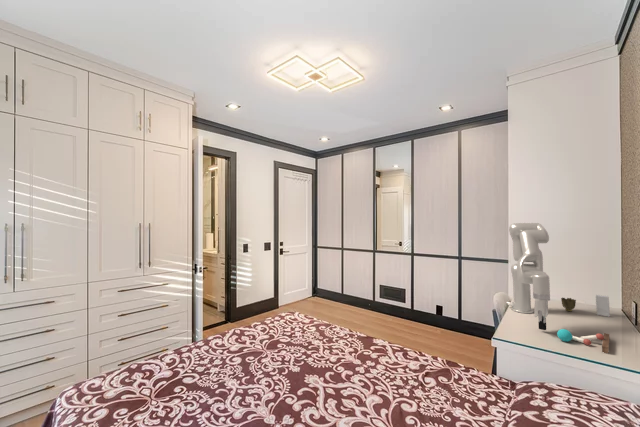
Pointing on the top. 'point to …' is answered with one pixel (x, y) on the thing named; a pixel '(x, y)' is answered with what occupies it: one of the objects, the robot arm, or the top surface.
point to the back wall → (606, 343)
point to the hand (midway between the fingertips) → (542, 329)
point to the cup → (568, 304)
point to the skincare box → (602, 305)
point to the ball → (564, 335)
